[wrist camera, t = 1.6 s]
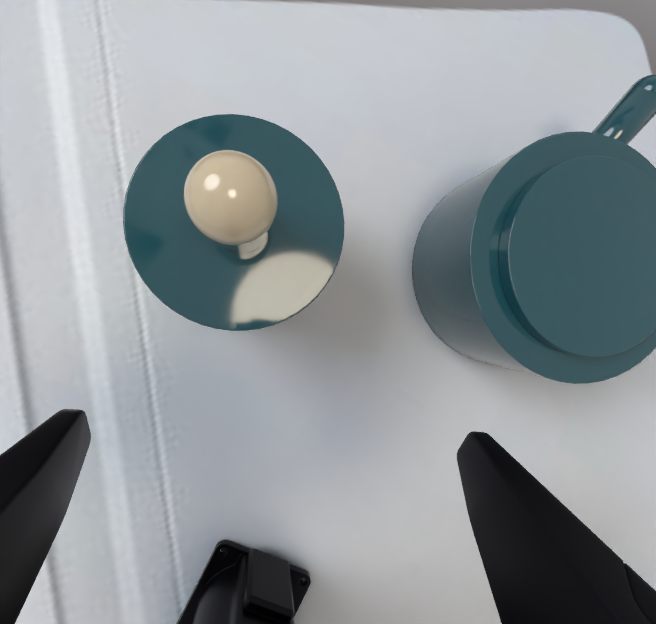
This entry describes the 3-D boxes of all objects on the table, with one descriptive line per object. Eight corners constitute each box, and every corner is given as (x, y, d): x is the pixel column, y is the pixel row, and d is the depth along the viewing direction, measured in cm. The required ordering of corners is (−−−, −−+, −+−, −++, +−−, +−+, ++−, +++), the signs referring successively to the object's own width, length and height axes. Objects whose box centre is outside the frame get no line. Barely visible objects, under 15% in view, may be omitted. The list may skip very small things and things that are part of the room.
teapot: (571, 413, 28) (693, 456, 20) (379, 310, 25) (433, 313, 17) (668, 200, 29) (820, 162, 21) (493, 81, 26) (594, -16, 18)
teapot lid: (285, 364, 17) (296, 395, 11) (86, 268, 16) (-15, 248, 10) (375, 188, 18) (429, 132, 12) (191, 79, 16) (152, -44, 10)
